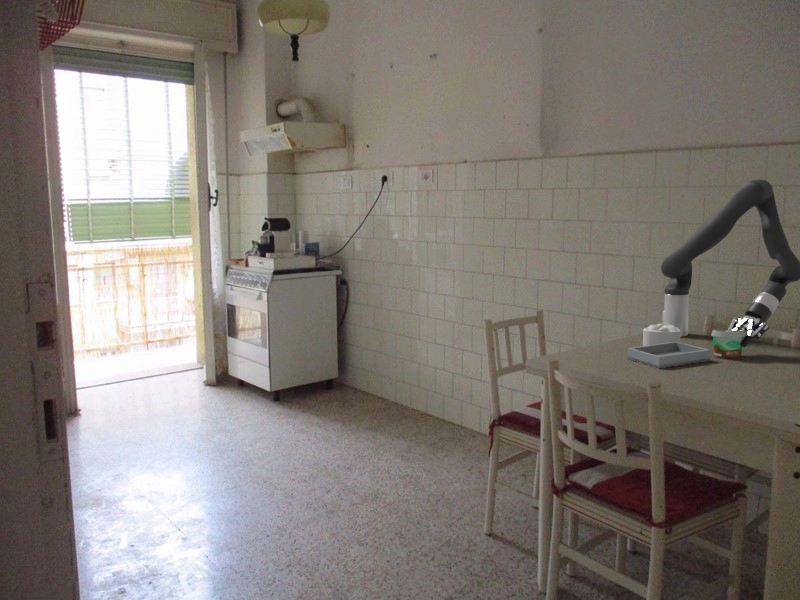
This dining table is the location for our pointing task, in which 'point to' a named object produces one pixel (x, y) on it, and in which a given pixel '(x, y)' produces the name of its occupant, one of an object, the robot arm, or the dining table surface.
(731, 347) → the food container
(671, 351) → the grey tray
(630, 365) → the dining table surface
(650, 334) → the lumpy-topped squat cylinder
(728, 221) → the robot arm
